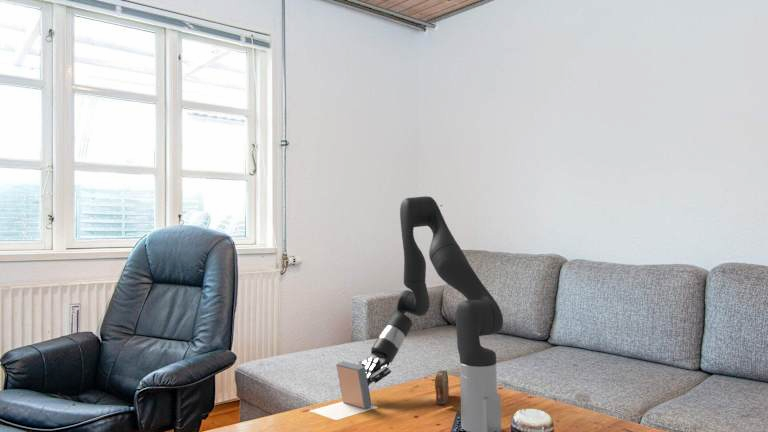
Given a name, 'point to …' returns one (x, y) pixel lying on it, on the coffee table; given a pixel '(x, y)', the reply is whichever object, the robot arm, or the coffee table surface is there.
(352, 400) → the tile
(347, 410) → the mat
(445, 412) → the coffee table surface
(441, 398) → the tin
